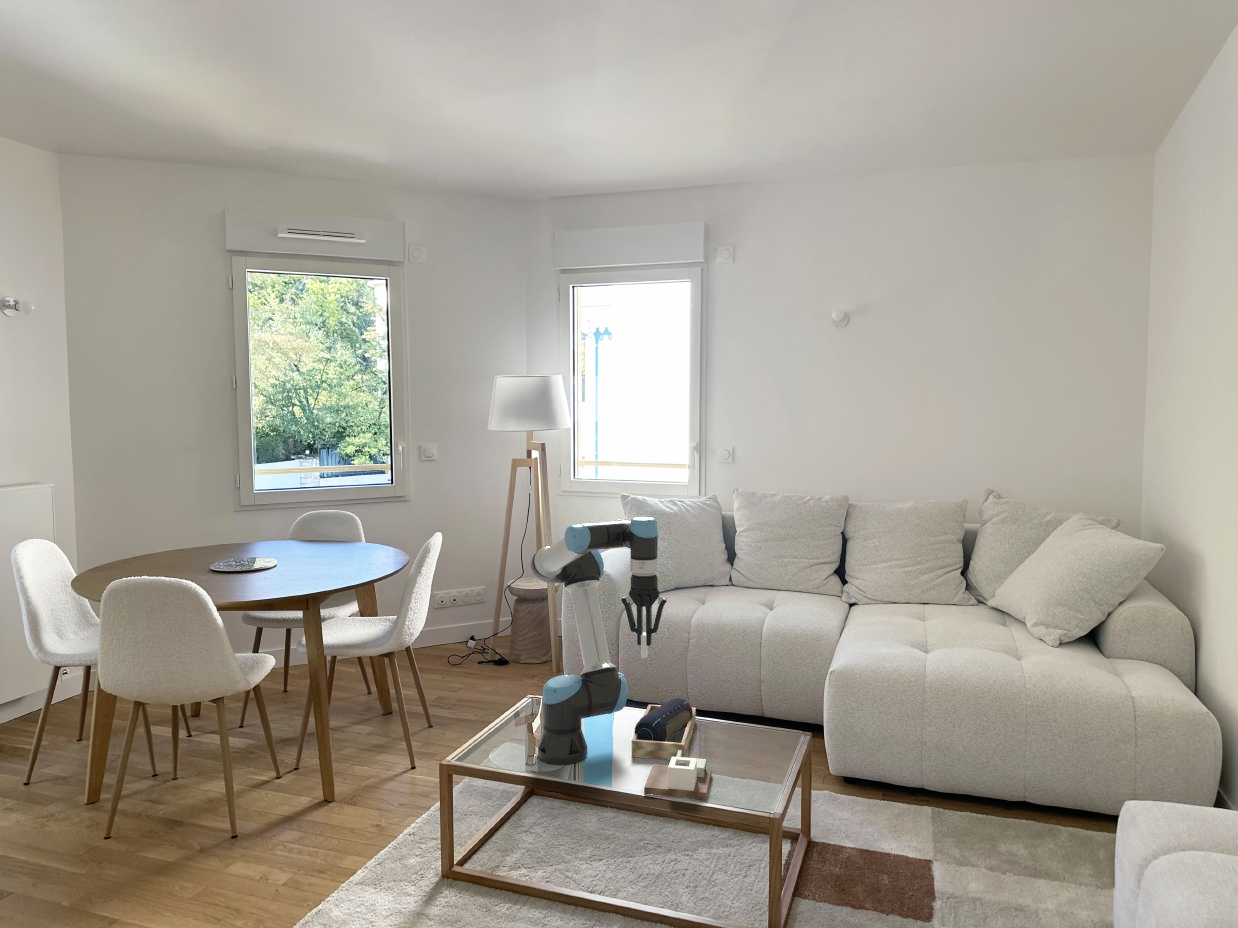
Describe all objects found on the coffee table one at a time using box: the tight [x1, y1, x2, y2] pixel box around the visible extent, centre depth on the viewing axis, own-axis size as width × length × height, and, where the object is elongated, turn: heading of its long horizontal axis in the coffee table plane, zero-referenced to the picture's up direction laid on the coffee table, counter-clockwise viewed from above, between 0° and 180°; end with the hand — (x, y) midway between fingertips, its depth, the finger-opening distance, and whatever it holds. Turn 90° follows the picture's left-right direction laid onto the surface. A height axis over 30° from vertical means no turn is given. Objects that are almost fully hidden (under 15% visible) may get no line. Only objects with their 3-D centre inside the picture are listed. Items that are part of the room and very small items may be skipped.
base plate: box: [643, 761, 712, 801], centre depth 236 cm, size 17×15×8 cm
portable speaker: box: [633, 697, 693, 742], centre depth 268 cm, size 25×10×10 cm, turn 146°
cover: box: [676, 750, 707, 778], centre depth 239 cm, size 8×6×5 cm
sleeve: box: [668, 757, 697, 791], centre depth 232 cm, size 7×7×6 cm
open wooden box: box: [631, 704, 697, 761], centre depth 269 cm, size 16×31×5 cm, turn 168°
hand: (644, 656), depth 235 cm, fingers closed
